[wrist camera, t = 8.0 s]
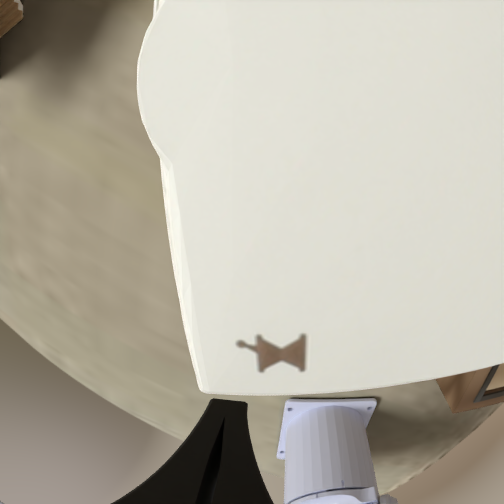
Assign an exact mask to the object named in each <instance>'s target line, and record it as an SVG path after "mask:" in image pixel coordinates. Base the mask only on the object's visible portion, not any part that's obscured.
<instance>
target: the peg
mask: <svg viewBox="0 0 504 504" xmlns="http://www.w3.org/2000/svg"><path fill="white" fill-rule="evenodd" d="M503 386H504V363H502V364H500V365H499V367H498V369H497V371H496V373H495V375H494V377H493V378H492V380H491V382H490V384H489V386H488V388H487V389H486V390H491V389H495V388H499V387H503Z"/></svg>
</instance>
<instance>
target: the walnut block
mask: <svg viewBox="0 0 504 504" xmlns="http://www.w3.org/2000/svg"><path fill="white" fill-rule="evenodd" d="M499 365H500V364H498V365H495V366H491V367H487V368H483V369H479V370H475V371H470V372H466V373H461V374H457V375H452V376H447V377H442V378H436V381H437V383H438V385H439V387H440V389H441V391H442V393H443V395H444V397H445V399H446V401H447V403H448V405H449V407H450V409H451V411H452V413H453V414H454V413H459V412H464V411H468V410H473V409H477V408H481V407H485V406H489V405H493V404H497V403H500V402H504V386H503V387H499V388H495V389H491V390H486V389H487V388H488V386H489V384H490V382H491V380H492V378H493V377H494V375H495V373H496V371H497V369H498V367H499Z"/></svg>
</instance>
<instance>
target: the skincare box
mask: <svg viewBox="0 0 504 504" xmlns="http://www.w3.org/2000/svg"><path fill="white" fill-rule="evenodd" d="M137 94H138V104H139V108H140V113H141V118H142V122H143V124H144V126H145V128H146V130H147V133H148V136H149V138H150V140H151V142H152V145H153V147H154V148H155V150H156V152H157V154H158V155H159V157H160V164H161V175H162V185H163V194H164V203H165V212H166V220H167V228H168V235H169V242H170V249H171V256H172V262H173V268H174V275H175V280H176V285H177V290H178V295H179V300H180V306H181V313H182V319H183V324H184V329H185V333H186V338H187V342H188V346H189V351H190V355H191V359H192V363H193V366H194V370H195V373H196V378H197V383H198V387H199V389H200V391H202V392H204V393H208V394H227V395H300V394H318V393H333V392H345V391H355V390H364V389H373V388H380V387H387V386H394V385H401V384H407V383H413V382H419V381H425V380H431V379H436V378H442V377H447V376H452V375H457V374H461V373H466V372H470V371H475V370H479V369H483V368H487V367H491V366H495V365H498V364H502V363H504V0H154V14H153V20H152V22H151V23H150V25H149V27H148V29H147V31H146V34H145V37H144V40H143V43H142V47H141V51H140V55H139V59H138V68H137Z"/></svg>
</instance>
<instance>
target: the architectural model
mask: <svg viewBox="0 0 504 504" xmlns="http://www.w3.org/2000/svg"><path fill="white" fill-rule="evenodd" d="M22 19H23V5H22V3H21V1H20V0H0V39H1V37H2V36H3V35H4V34H5V33H6V32H8V31H9V30H10V29H11V28H12V27H13V26H15V25H16V24H17V23H18V22H19V21H21V20H22Z"/></svg>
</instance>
